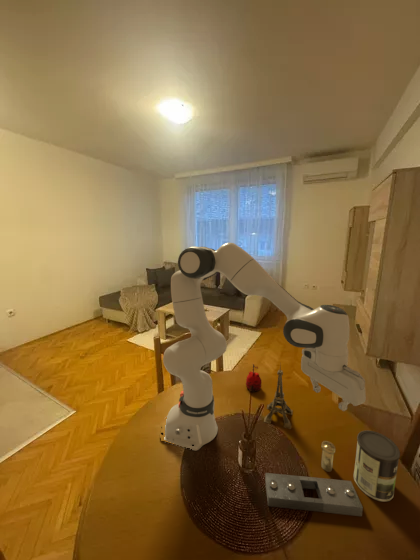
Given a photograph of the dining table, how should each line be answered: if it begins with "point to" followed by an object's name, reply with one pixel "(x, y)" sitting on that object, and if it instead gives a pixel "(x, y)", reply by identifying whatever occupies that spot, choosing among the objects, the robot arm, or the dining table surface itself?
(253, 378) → the red rounded piece
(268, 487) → the grey peg board
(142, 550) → the dining table surface
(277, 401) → the eiffel tower
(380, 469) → the coffee can
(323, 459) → the pin
